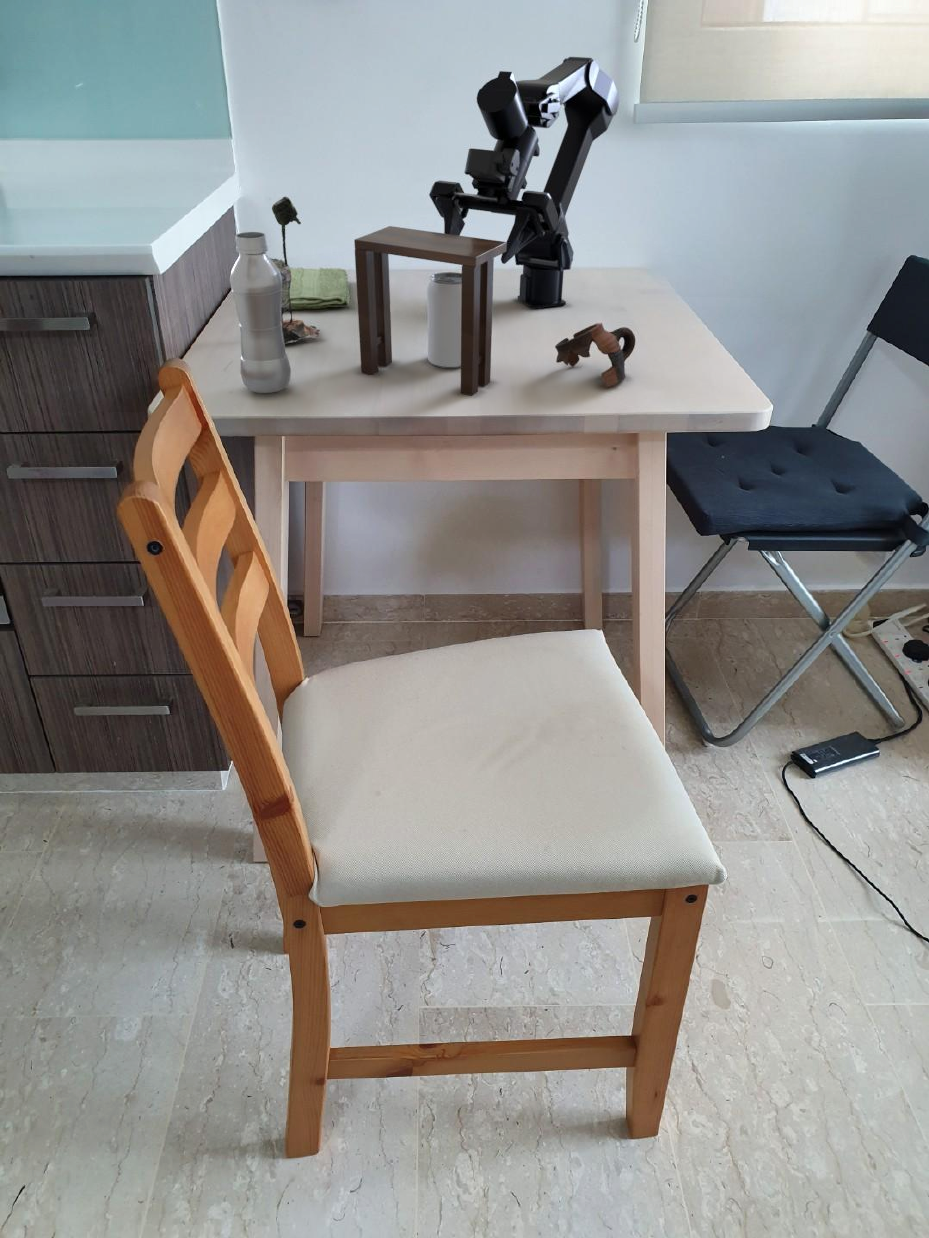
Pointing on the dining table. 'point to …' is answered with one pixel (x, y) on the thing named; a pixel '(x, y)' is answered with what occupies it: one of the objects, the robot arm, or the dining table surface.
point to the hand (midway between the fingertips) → (474, 258)
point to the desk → (474, 295)
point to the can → (444, 319)
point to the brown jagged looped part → (605, 344)
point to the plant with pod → (289, 277)
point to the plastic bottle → (259, 315)
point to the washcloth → (319, 288)
